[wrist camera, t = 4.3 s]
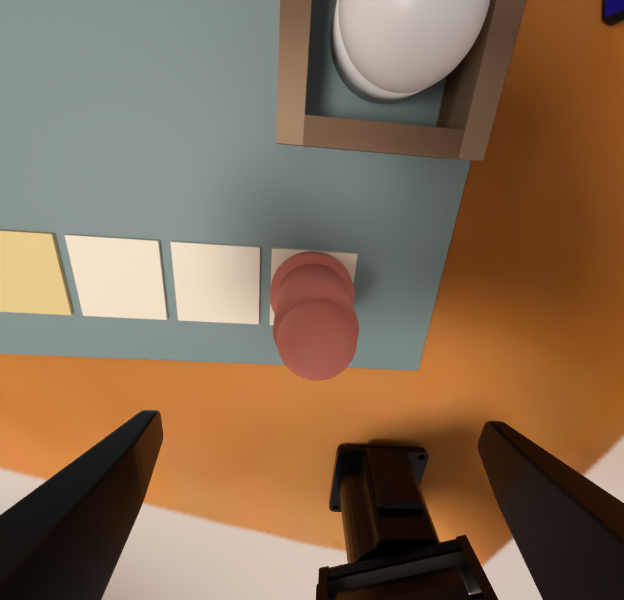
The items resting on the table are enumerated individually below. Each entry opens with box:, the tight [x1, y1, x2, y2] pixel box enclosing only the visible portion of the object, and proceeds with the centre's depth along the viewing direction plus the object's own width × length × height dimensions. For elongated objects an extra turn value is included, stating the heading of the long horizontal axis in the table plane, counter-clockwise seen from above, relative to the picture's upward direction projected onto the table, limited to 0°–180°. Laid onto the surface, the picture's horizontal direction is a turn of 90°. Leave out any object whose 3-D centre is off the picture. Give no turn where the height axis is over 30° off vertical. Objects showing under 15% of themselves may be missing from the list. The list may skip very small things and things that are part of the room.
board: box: [0, 0, 471, 370], centre depth 16 cm, size 20×28×1 cm
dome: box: [330, 0, 490, 104], centre depth 10 cm, size 4×4×5 cm
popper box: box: [276, 0, 526, 161], centre depth 12 cm, size 8×8×3 cm
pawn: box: [270, 251, 359, 380], centre depth 15 cm, size 4×4×7 cm
